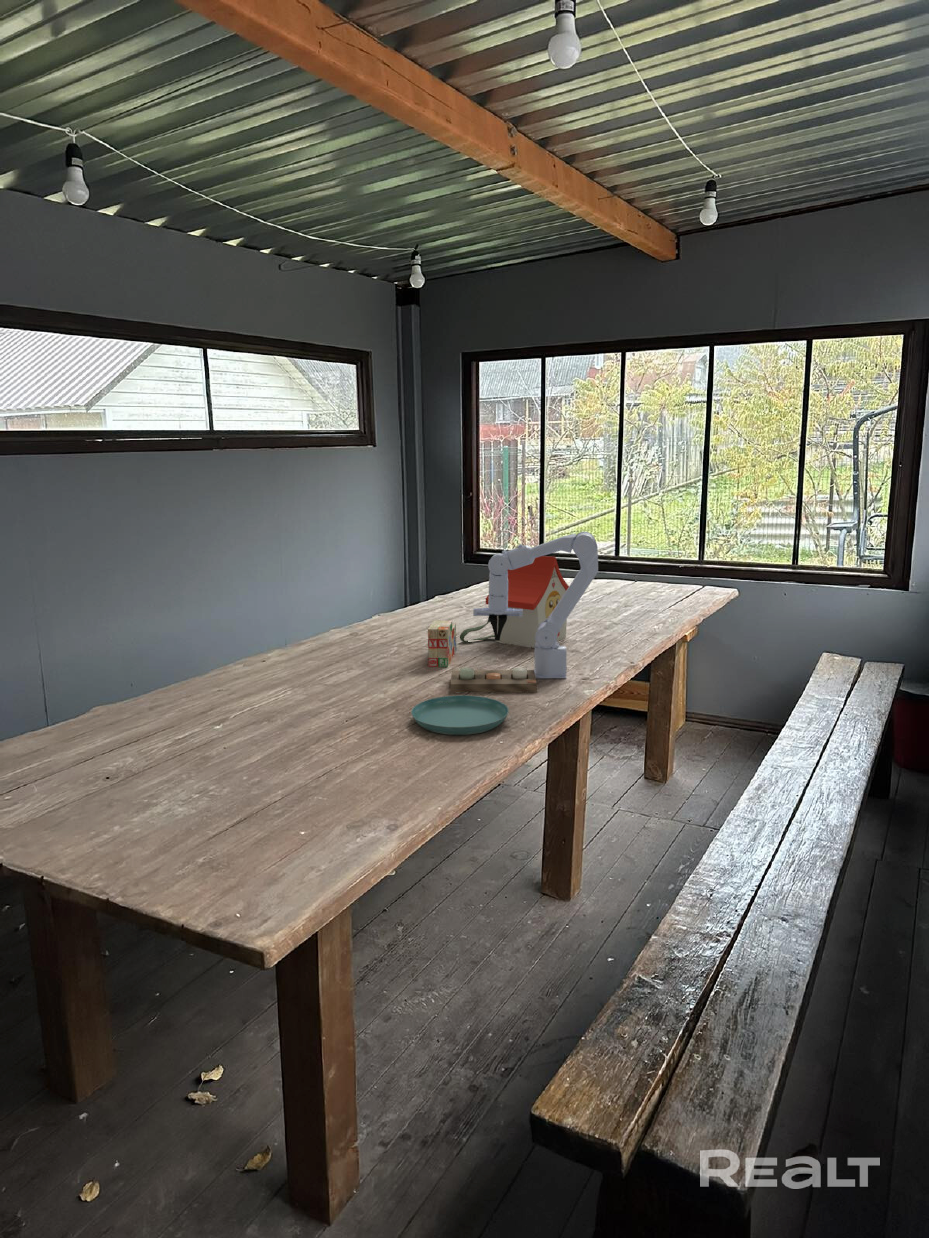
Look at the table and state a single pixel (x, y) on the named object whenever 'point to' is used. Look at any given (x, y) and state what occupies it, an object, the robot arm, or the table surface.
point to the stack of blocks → (441, 643)
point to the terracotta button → (493, 676)
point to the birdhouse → (530, 601)
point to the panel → (493, 682)
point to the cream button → (519, 673)
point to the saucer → (460, 714)
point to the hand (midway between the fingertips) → (497, 639)
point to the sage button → (466, 673)
